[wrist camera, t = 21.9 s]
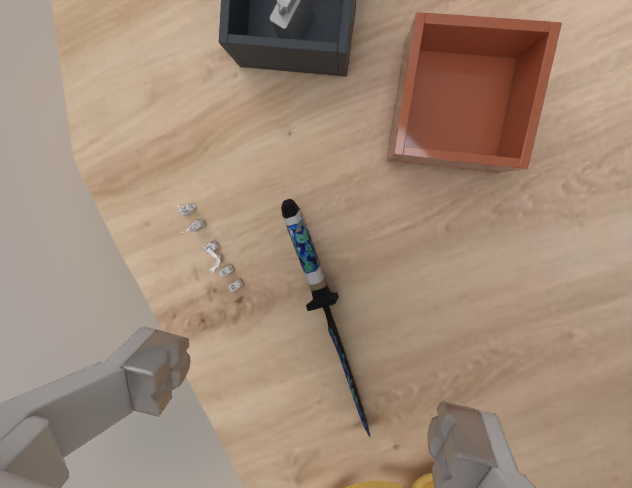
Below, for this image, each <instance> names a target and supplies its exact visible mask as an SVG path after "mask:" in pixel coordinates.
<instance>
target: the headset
mask: <svg viewBox="0 0 632 488" xmlns="http://www.w3.org/2000/svg"><path fill="white" fill-rule="evenodd" d="M344 488H404V487H403V486H401V485H399V484H397V483H393V482H388V481H370V482H363V483H357V484H353V485H350V486H347V487H344ZM411 488H434V484H433V477H432V473H428V474H425V475H423V476H421V477H420V478H418V479H417V480H416V481H415V482H414V484H413V485H412V487H411Z"/></svg>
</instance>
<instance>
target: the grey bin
mask: <svg viewBox="0 0 632 488" xmlns="http://www.w3.org/2000/svg"><path fill="white" fill-rule="evenodd" d="M276 4H277V0H221V12H220V29H219V43H220V44H221V46H222V47H223V48H224V49H225V50H226V51H227V52H228V54H229V55H230V56H231V57H232V58H233V59H234V60H235V62H236V63H237V64H238V65H239V66H240V67H249V68H260V69H271V70H282V71H293V72H305V73H316V74H327V75H338V76H347V71H348V63H349V55H350V48H351V40H352V32H353V24H354V16H355V8H356V0H311V4H312V9H313V13H314V14H313V16H312V17H311V19H310V21H309V23H308V25H307V27H306V29H305V30H304V32H303V34H302V36H301V38H300V40H296V39H284V38H278V36H277V33H276V31H275V29H274V27H273V25H272V23H271V20H270V16H271V14H272V12H273V10H274V8H275V6H276Z"/></svg>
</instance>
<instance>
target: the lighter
mask: <svg viewBox="0 0 632 488" xmlns="http://www.w3.org/2000/svg"><path fill="white" fill-rule="evenodd" d="M313 14H314V13H313V9H312V4H311V0H277V4H276V6H275V8H274V10H273V12H272V14H271V16H270V20H271V23H272V25H273V27H274V29H275V31H276V33H277V36H278V38H284V39H296V40H300V38H301V36H302V34H303V32H304V30H305V29H306V27H307V25H308V23H309V21H310V19H311V17H312V16H313Z"/></svg>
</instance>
